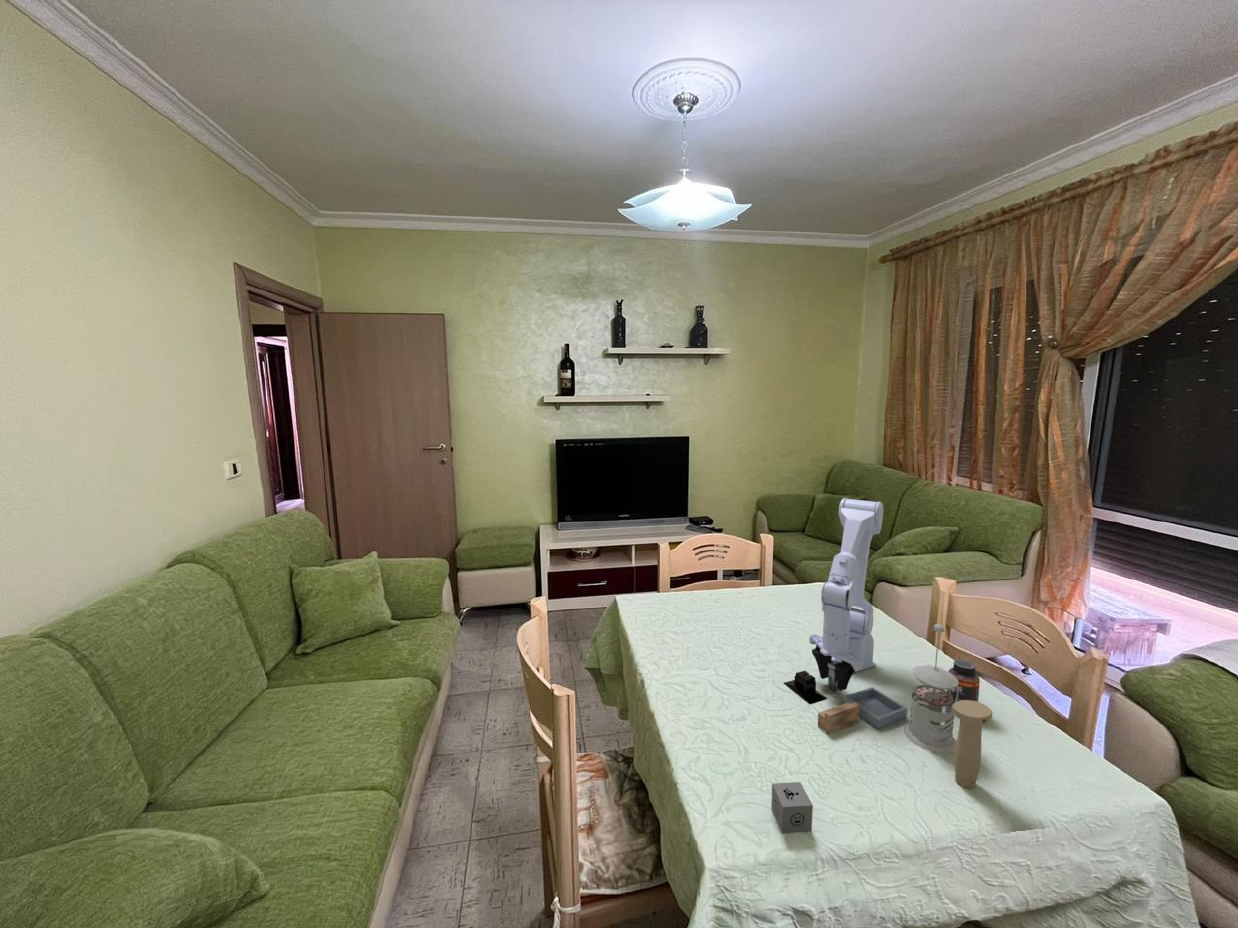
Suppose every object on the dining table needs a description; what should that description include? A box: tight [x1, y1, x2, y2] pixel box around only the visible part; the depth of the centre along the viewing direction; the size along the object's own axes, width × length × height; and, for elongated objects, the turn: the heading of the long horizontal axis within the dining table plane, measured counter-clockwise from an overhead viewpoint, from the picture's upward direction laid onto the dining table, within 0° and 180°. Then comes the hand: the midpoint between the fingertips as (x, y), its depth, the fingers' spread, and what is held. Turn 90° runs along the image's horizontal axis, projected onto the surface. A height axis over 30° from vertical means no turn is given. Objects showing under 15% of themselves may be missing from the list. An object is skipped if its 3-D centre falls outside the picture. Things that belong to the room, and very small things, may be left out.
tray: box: [843, 686, 908, 731], centre depth 113 cm, size 9×9×2 cm
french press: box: [903, 623, 959, 754], centre depth 104 cm, size 10×12×25 cm
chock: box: [817, 702, 860, 735], centre depth 109 cm, size 9×3×4 cm, turn 114°
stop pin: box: [827, 660, 839, 693], centre depth 122 cm, size 3×3×7 cm
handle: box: [952, 700, 994, 789], centre depth 92 cm, size 5×6×15 cm
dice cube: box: [770, 781, 814, 835], centre depth 85 cm, size 5×5×5 cm
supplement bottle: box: [946, 658, 981, 703], centre depth 113 cm, size 6×6×11 cm
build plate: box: [782, 670, 828, 705], centre depth 122 cm, size 12×7×5 cm, turn 22°
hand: (833, 683), depth 122 cm, fingers open, 5 cm apart
